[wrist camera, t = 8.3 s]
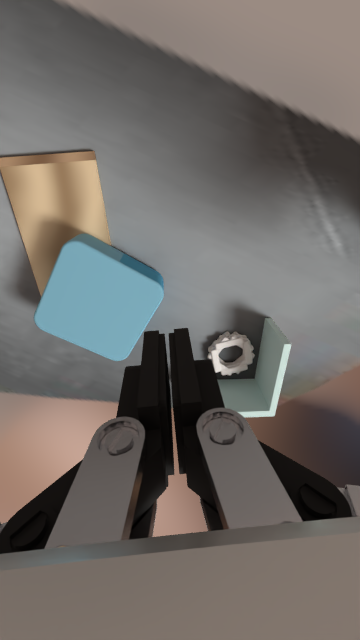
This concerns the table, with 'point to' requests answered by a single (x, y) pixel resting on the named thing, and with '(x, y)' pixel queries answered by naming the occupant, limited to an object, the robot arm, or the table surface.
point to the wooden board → (54, 204)
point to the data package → (98, 297)
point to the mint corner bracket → (265, 388)
